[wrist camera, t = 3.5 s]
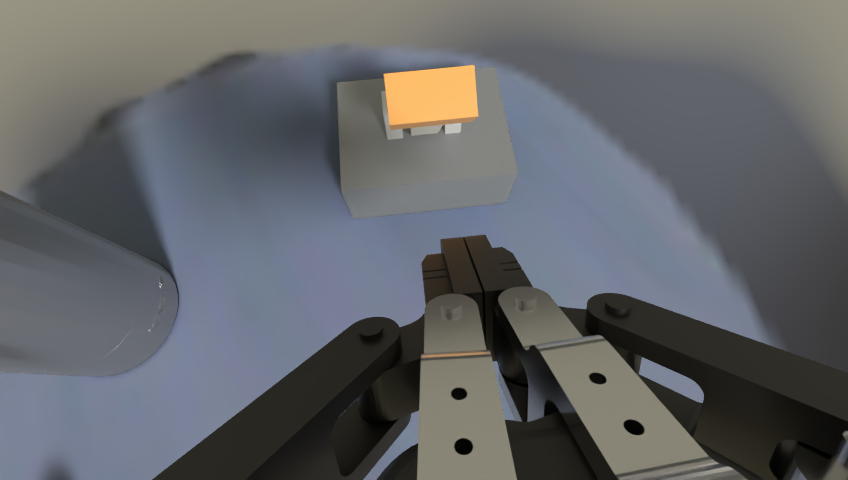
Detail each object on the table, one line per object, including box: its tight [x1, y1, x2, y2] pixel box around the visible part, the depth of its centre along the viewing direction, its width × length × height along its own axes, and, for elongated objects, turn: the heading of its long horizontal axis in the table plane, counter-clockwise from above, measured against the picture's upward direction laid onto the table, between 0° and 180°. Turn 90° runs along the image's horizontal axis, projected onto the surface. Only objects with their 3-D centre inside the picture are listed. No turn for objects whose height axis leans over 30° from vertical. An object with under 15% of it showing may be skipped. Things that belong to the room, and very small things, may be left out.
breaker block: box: [337, 67, 518, 219], centre depth 32 cm, size 13×10×8 cm
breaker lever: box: [384, 65, 478, 136], centre depth 24 cm, size 4×2×10 cm, turn 96°
